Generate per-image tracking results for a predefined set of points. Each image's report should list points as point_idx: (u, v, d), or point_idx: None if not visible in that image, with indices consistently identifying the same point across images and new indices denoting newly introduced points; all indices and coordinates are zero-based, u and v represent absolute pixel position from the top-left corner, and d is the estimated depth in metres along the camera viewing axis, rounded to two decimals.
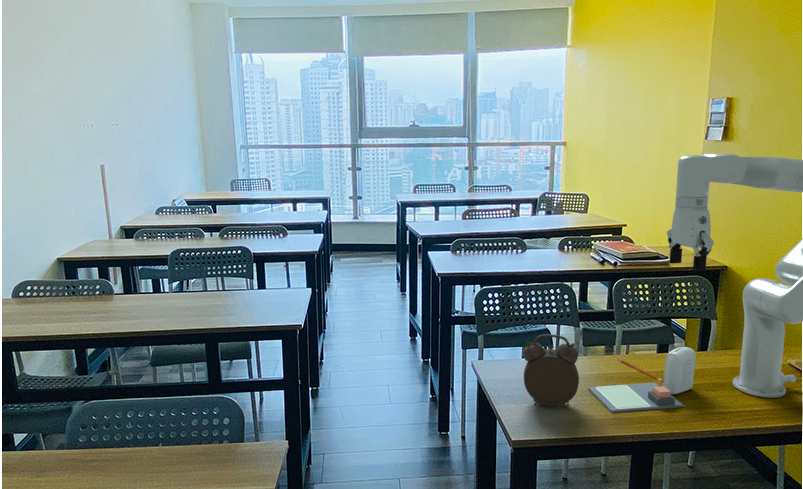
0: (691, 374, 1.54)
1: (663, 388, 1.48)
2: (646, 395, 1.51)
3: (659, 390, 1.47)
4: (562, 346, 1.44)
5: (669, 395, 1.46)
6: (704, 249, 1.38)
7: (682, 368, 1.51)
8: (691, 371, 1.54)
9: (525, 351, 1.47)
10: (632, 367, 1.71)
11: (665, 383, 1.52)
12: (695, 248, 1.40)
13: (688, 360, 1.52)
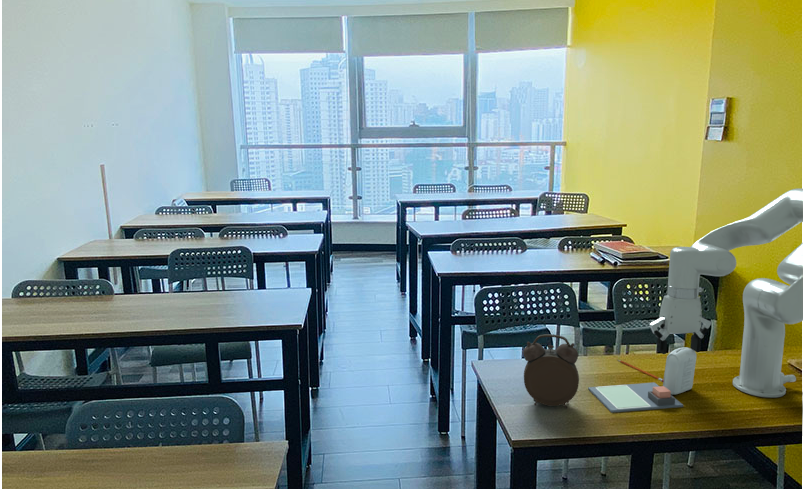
0: (691, 374, 1.54)
1: (663, 388, 1.48)
2: (646, 395, 1.51)
3: (659, 390, 1.47)
4: (562, 346, 1.44)
5: (669, 395, 1.46)
6: (707, 329, 1.51)
7: (682, 368, 1.50)
8: (692, 371, 1.54)
9: (525, 351, 1.47)
10: (632, 367, 1.71)
11: (665, 383, 1.52)
12: (698, 331, 1.51)
13: (689, 361, 1.52)
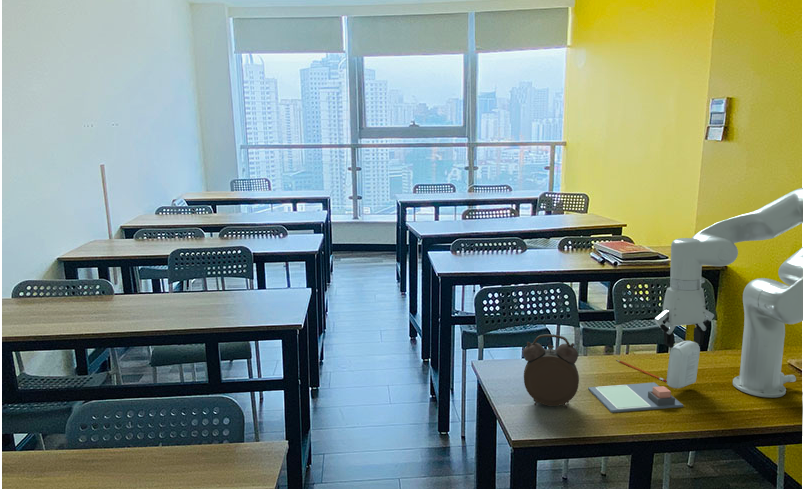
0: (695, 368, 1.53)
1: (663, 388, 1.48)
2: (646, 395, 1.51)
3: (659, 390, 1.47)
4: (562, 346, 1.44)
5: (669, 395, 1.46)
6: (709, 322, 1.51)
7: (686, 362, 1.50)
8: (695, 364, 1.53)
9: (525, 351, 1.47)
10: (631, 367, 1.71)
11: (669, 377, 1.52)
12: (701, 324, 1.50)
13: (692, 354, 1.51)
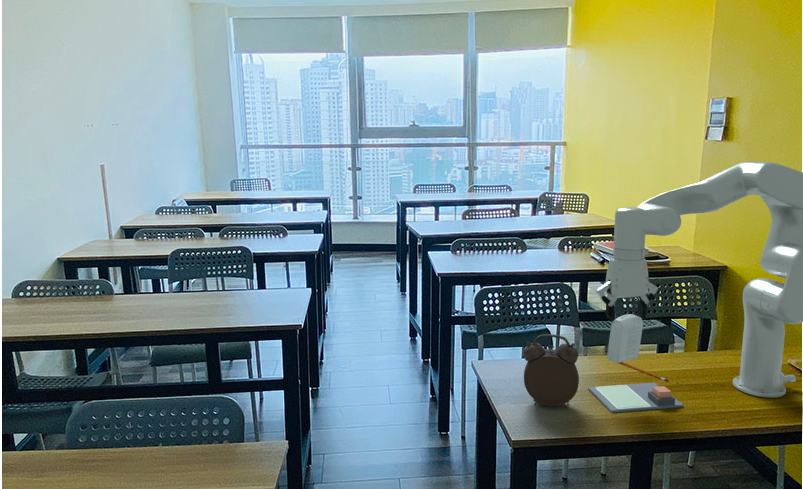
0: (637, 343, 1.48)
1: (663, 388, 1.48)
2: (646, 395, 1.51)
3: (659, 390, 1.47)
4: (562, 346, 1.44)
5: (669, 395, 1.46)
6: (652, 295, 1.46)
7: (627, 335, 1.45)
8: (638, 339, 1.48)
9: (525, 351, 1.47)
10: (631, 367, 1.71)
11: (609, 351, 1.47)
12: (644, 297, 1.45)
13: (634, 328, 1.46)
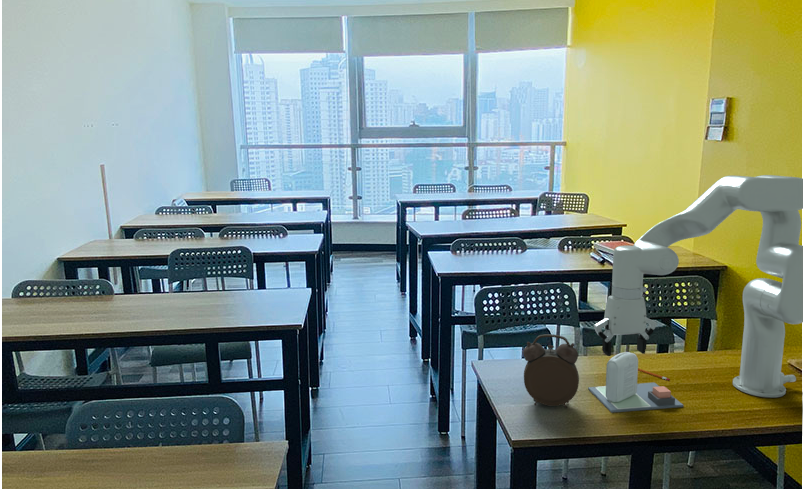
0: (634, 379, 1.50)
1: (663, 388, 1.48)
2: (646, 395, 1.51)
3: (659, 390, 1.47)
4: (562, 346, 1.44)
5: (669, 395, 1.46)
6: (652, 330, 1.48)
7: (623, 374, 1.47)
8: (634, 376, 1.50)
9: (525, 351, 1.47)
10: None
11: (607, 391, 1.49)
12: (644, 332, 1.47)
13: (629, 366, 1.48)
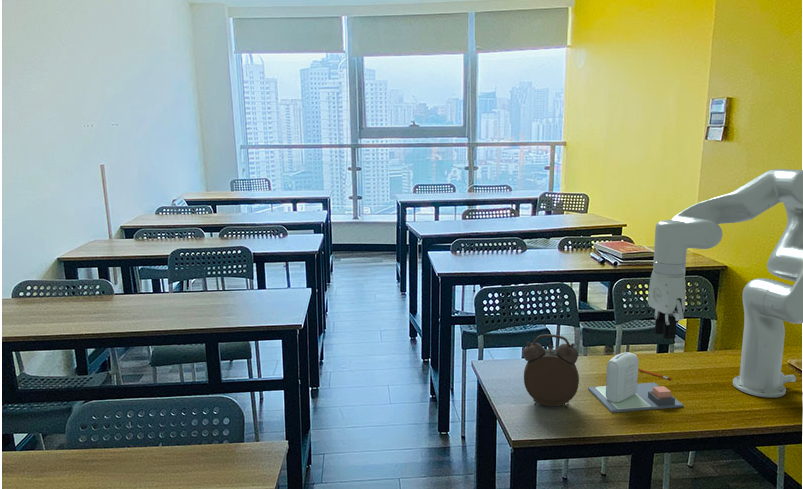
0: (634, 380, 1.50)
1: (663, 388, 1.48)
2: (646, 395, 1.51)
3: (659, 390, 1.47)
4: (562, 346, 1.44)
5: (669, 395, 1.46)
6: None
7: (623, 375, 1.47)
8: (634, 376, 1.50)
9: (525, 351, 1.47)
10: None
11: (607, 391, 1.49)
12: None
13: (630, 366, 1.48)
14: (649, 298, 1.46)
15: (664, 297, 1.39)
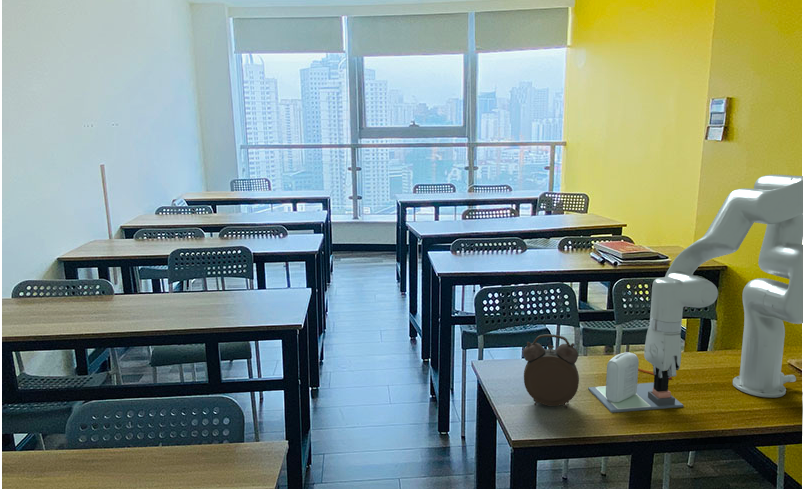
0: (634, 380, 1.50)
1: None
2: (646, 395, 1.51)
3: (659, 391, 1.47)
4: (562, 346, 1.44)
5: (669, 396, 1.46)
6: None
7: (623, 375, 1.47)
8: (634, 376, 1.50)
9: (525, 351, 1.47)
10: None
11: (607, 391, 1.49)
12: None
13: (630, 366, 1.48)
14: (645, 352, 1.49)
15: (660, 354, 1.42)
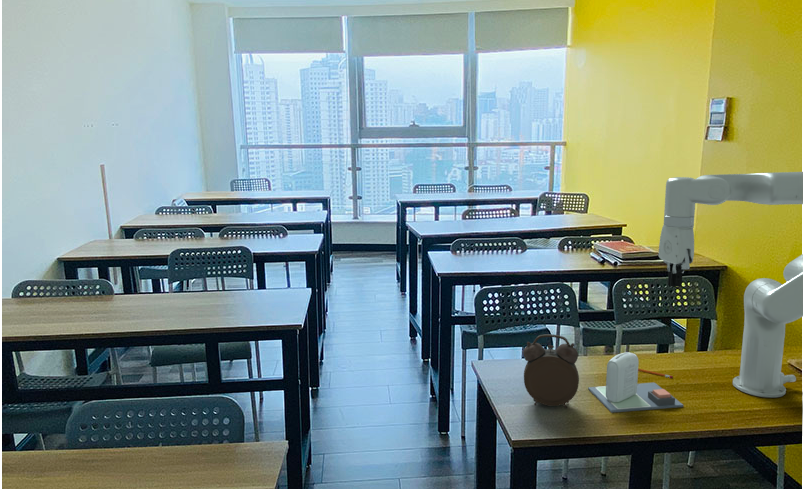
0: (634, 380, 1.50)
1: (663, 390, 1.48)
2: (646, 395, 1.51)
3: (659, 393, 1.47)
4: (562, 346, 1.44)
5: None
6: None
7: (623, 375, 1.47)
8: (634, 376, 1.50)
9: (525, 351, 1.47)
10: None
11: (607, 391, 1.49)
12: None
13: (630, 366, 1.48)
14: (660, 251, 1.57)
15: (674, 248, 1.50)
